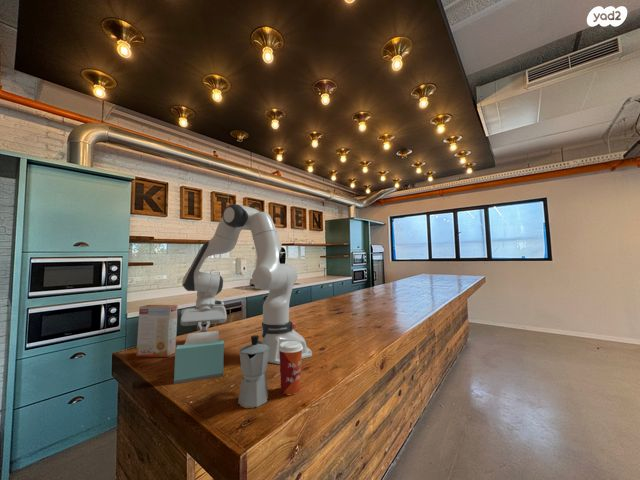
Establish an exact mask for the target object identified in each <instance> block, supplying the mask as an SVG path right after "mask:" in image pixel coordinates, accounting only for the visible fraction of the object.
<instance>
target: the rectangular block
mask: <svg viewBox="0 0 640 480" xmlns="http://www.w3.org/2000/svg"><path fill="white" fill-rule="evenodd" d="M224 353H225V341H224V339H222V340H219V341H212V342H204V343H195V344H186V345H184V344H176V351H175V353H174V354H175V355H174V356H175V357H174V372H173V376H174V378H173V385H175V384H182V383H189V382H194V381H199V380H206V379H212V378H218V377H219V378H220V377H223V376H224V359H225V358H224V356H225V354H224Z"/></svg>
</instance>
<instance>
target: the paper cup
mask: <svg viewBox="0 0 640 480" xmlns="http://www.w3.org/2000/svg"><path fill="white" fill-rule="evenodd" d="M302 349H303V346H302V344H301V343H300V342H298V341H285V342H282V343H281V344H280V347H279V348H278V350H279V351H280V364H279V369H280V370H279V371H280V389H281V390H280V391H282V392H281V394H283V393H284V394H294V393H296V392H298V391H299V392H300V387H301V373H302V359H301V358H302ZM299 392H298V393H299ZM284 394H283V395H284Z"/></svg>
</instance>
